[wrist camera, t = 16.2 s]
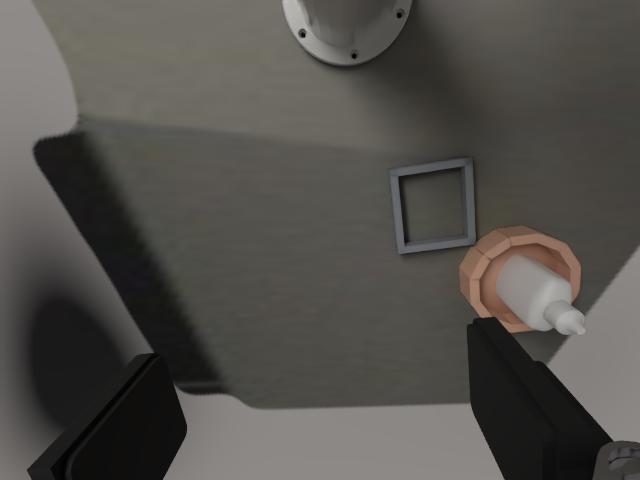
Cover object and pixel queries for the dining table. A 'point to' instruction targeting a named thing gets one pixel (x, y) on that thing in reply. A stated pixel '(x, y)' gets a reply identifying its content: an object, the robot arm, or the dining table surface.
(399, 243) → the open rectangular frame
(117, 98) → the dining table surface
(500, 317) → the bowl
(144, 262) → the dining table surface
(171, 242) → the dining table surface
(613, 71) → the dining table surface
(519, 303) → the eye dropper bottle
